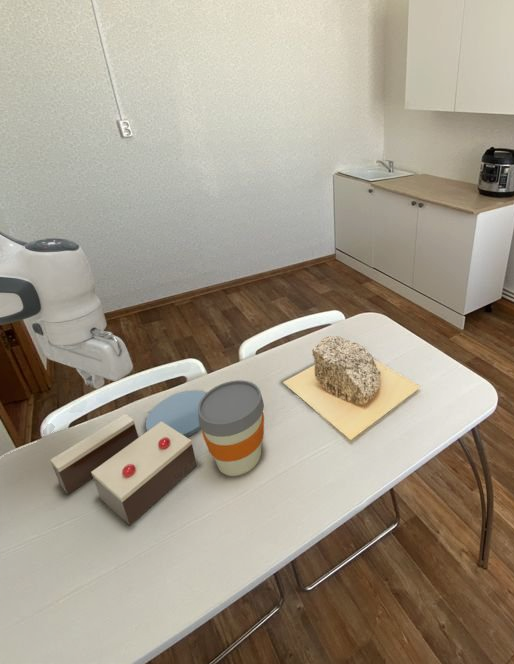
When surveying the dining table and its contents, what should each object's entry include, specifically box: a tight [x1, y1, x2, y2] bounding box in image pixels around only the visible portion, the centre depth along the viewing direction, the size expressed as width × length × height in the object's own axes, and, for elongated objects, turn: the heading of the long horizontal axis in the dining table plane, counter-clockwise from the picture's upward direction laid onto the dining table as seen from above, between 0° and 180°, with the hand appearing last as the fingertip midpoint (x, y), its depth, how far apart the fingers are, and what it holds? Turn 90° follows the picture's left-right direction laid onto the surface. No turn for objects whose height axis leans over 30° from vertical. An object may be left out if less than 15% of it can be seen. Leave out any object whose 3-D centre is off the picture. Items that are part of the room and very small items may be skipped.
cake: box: [91, 421, 198, 526], centre depth 75 cm, size 10×14×9 cm
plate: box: [145, 390, 207, 438], centre depth 92 cm, size 15×15×1 cm
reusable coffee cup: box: [198, 379, 265, 477], centre depth 79 cm, size 13×13×15 cm
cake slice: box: [50, 413, 140, 496], centre depth 79 cm, size 4×14×7 cm, turn 146°
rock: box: [282, 335, 422, 441], centre depth 101 cm, size 28×22×16 cm
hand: (95, 385), depth 75 cm, fingers closed
